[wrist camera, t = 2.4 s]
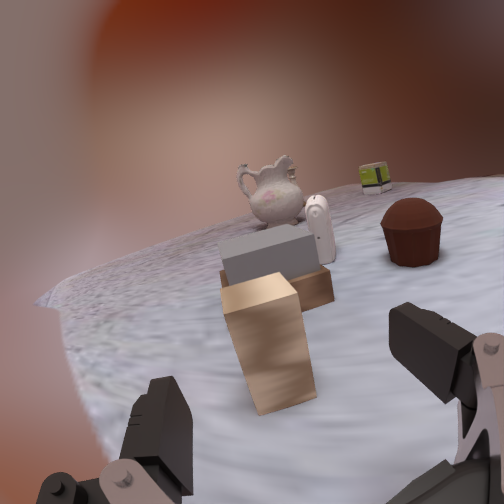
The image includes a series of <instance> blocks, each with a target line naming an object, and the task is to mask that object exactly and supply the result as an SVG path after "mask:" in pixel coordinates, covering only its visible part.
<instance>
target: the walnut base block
mask: <svg viewBox="0 0 504 504" xmlns="http://www.w3.org/2000/svg"><path fill="white" fill-rule="evenodd" d="M320 269H321V270H320V271H317V272H313V273H310V274H307V275H304V276H301V277H298V278H294V279H291V280H288V282H289V284H290V285H291V286H292V287H293V288H294V289H295V290H296V291H297V293H298V297H299V302H300V307H301V312H304V311H307V310H310V309H313V308H316V307H319V306H322V305H325V304H328V303H330V302H333V301H334V294H333V287H332V280H331V274H330V270H328V269H327V268H325V267H324V266H322V265H321V264H320ZM220 277H221V284H222V288H224V287H228V286H229V283H228V280H227V276H226V273H225V270H222V271H220Z"/></svg>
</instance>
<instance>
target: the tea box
mask: <svg viewBox="0 0 504 504" xmlns="http://www.w3.org/2000/svg"><path fill="white" fill-rule="evenodd" d="M358 168H359V173H360V178H361V182H362V187H363V192H364V195H372V194H380V193H383V192H385V191H388V190H390V189H392V185H391V180H390V175H389V171H388V167H387V163H386V162H378V163H373V164H368V165H364V166H360V167H358Z"/></svg>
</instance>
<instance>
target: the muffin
mask: <svg viewBox="0 0 504 504" xmlns="http://www.w3.org/2000/svg"><path fill="white" fill-rule="evenodd" d="M442 221H443V217H442V215H441V214H440V213H439V211H438V210H437V209H436V208H435V206H433V205H432V204H431V203H429V202H427V201H426V200H424V199H420V198H405V199H401V200H399V201H397V202H395V203H394V204H393V205H392V206H391V207H390V208H389V209H388V210H387V211H386V213H385V215H384V217H383V219H382V221H381V223H380V224H381V226H382V228H383V231H384V235H385V239H386V242H387V246H388V250H389V254H390V258H391V262H393V263H396V264H397V265H398V266H407V267H418V266H424V265H430V264H431V263H432V262H434V261H435V260H437V259H438V254H439V245H440V233H441V224H442Z"/></svg>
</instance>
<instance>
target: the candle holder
mask: <svg viewBox="0 0 504 504" xmlns="http://www.w3.org/2000/svg"><path fill="white" fill-rule="evenodd" d="M296 168H298V167H291V168H288V170H287V173H288V174H289V179H290V181H291V183H292V184H293V185H295V186H297V187H299V186H298V185H297V183H296V179H295V178H296V176H295V175H294V173H295V169H296ZM303 206H306V203H305V201H304V204H303Z"/></svg>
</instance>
